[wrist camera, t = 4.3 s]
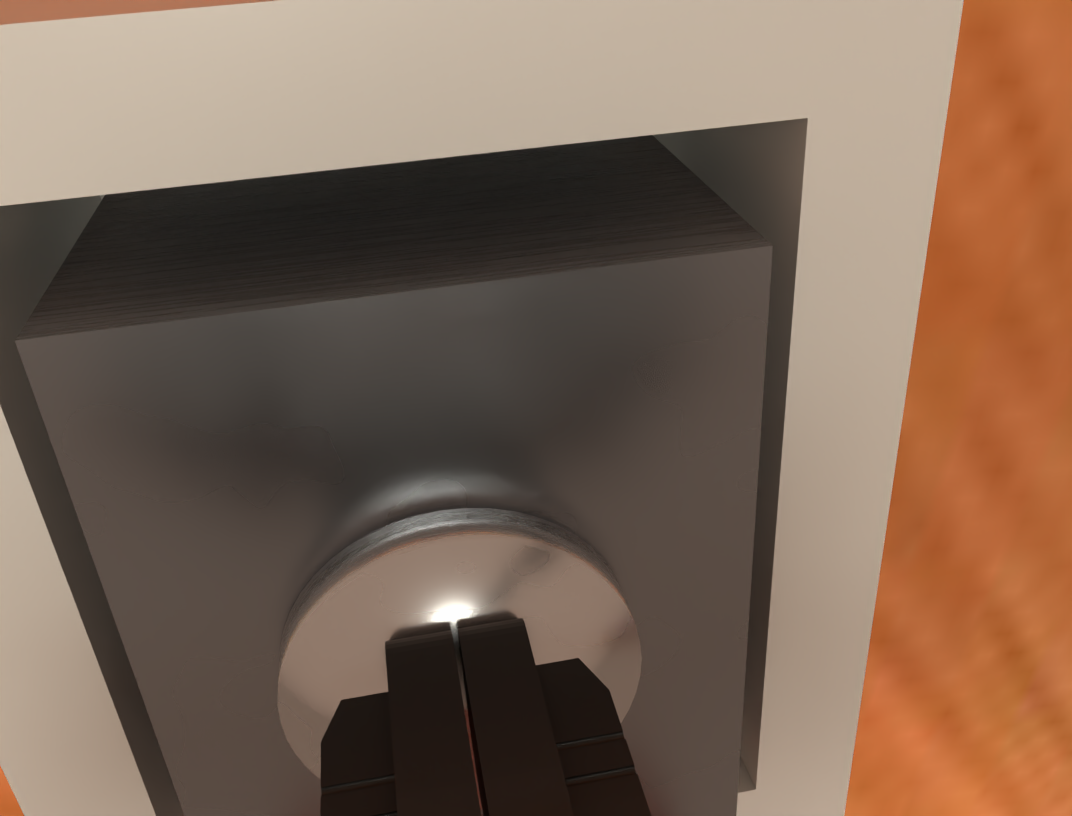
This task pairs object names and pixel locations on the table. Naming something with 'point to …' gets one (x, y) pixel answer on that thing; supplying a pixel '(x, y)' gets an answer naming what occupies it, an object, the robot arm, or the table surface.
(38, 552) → the frame
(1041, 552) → the table surface
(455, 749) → the robot arm
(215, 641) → the grey button block
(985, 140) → the table surface
